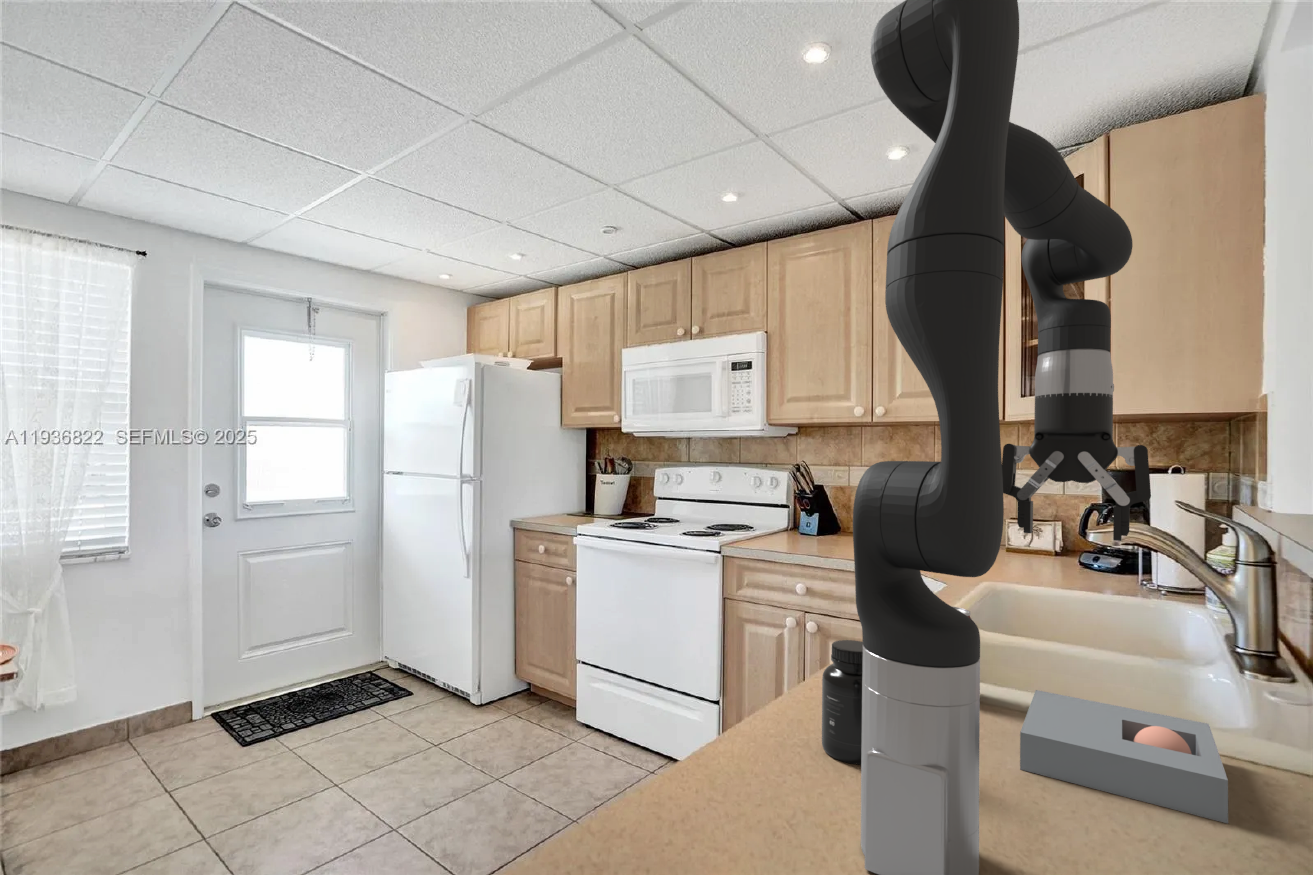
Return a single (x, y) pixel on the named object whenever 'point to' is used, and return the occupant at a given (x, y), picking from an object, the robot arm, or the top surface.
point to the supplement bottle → (843, 702)
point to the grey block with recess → (1123, 754)
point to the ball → (1162, 739)
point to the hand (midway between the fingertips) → (1071, 536)
